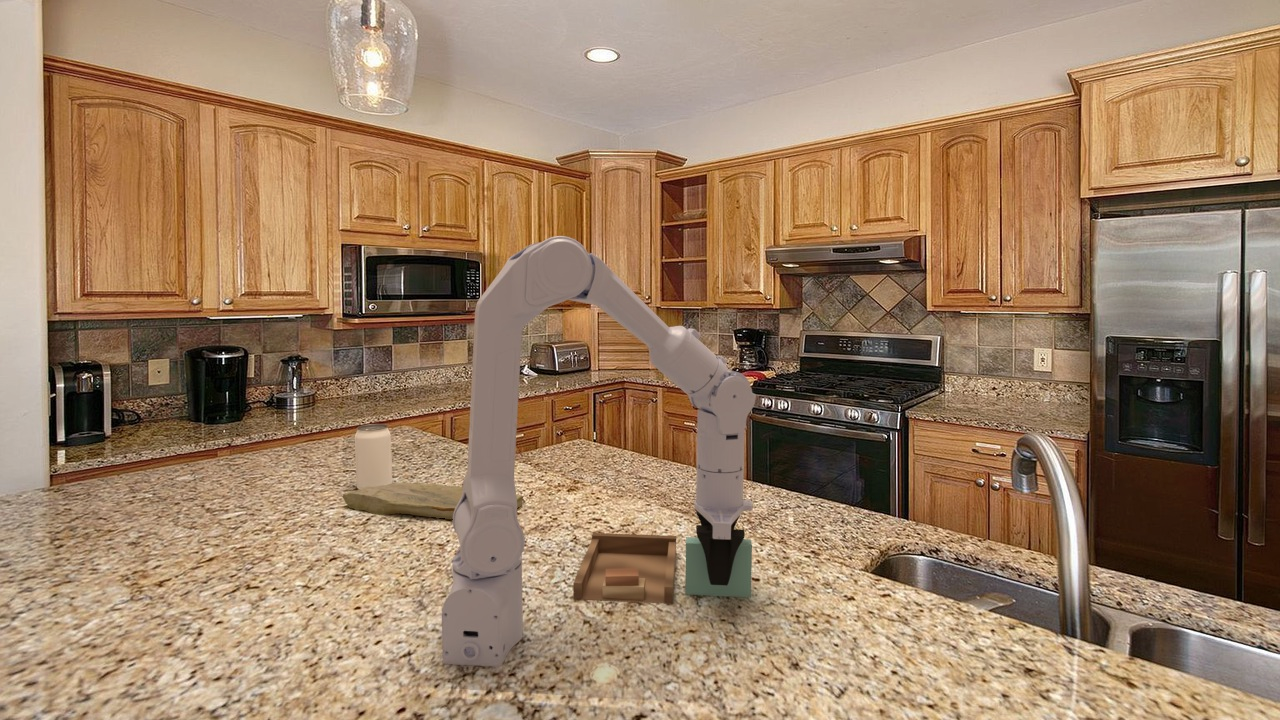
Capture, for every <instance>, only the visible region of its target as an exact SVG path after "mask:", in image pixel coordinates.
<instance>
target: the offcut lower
mask: <svg viewBox="0 0 1280 720" xmlns="http://www.w3.org/2000/svg"><path fill="white" fill-rule="evenodd" d="M644 596H645V578H639V585H637V586H606V577H605V580H604V583H603V598H609V599H631V600H644Z"/></svg>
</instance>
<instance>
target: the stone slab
mask: <svg viewBox="0 0 1280 720" xmlns="http://www.w3.org/2000/svg"><path fill="white" fill-rule="evenodd" d="M462 493H463V486H457V485H446V484H445V485H444V484H439V483H419V482H417V483H416V482H413V483H412V482H394V483H393V482H392V484H388V485H382V486H376V487H365V488H362V489H357V490H352V491H348V492H345V493H343V495H342V499H343V500H344V502H345V504H346V505H347V506H348V507H349V508H350V509H354V510H355V511H358V510H359V511H361V510H362V511H366V512H369V514H372V515H382V514H387V515H396V514H395V513H398V514H397V515H399V513H401V514H400V515H402V514H403V515H404V514H409V515H412V516H420V517H429V518H431V517H436V518H435V519H439V518H445V519H444V520H452V519H453V513H454V510H455V508H456V506H457V504H458V503H459V501H460V499H461V496H462ZM516 497H517V508H518V507H519V508H521V507H522V506H523V505H524V503H523V500H524V496H523V495H522V494H517V493H516ZM522 504H523V505H522ZM521 505H522V506H521ZM519 508H518V509H519ZM382 516H383V515H382Z"/></svg>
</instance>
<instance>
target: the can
mask: <svg viewBox="0 0 1280 720" xmlns="http://www.w3.org/2000/svg"><path fill="white" fill-rule="evenodd" d="M354 454H355V455H354V456H355V477H356V478H355V481H356V482H355V483H356V488H357V490H359V489H362V488H365V487H376V486H382V485H388V484H392V483H393V458H392V435H391V431H390V430H389V425H387V424H384V423H371V424H363V425H360V426H359V425H358V426H357V427H356V433H355V435H354Z"/></svg>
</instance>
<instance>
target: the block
mask: <svg viewBox="0 0 1280 720" xmlns="http://www.w3.org/2000/svg"><path fill="white" fill-rule="evenodd" d="M752 562H753V544H752V539H749V538H747V539H746V538H744V539H743V541H742V543H741V544H740V546H739V548H738V550H737V552H736V555H735V558H734V562H733V566H732V571H731V576H730V580H729V583H728V585H727V586H726V585H711V584H710V581H709V576H708V570H707V563H706V557H705V553H704V550H703V547H702V545H701V543H700V541H699V539H698V536H696V537H695V536H692V537H691V536H685V581H684V583H685V588H684V589H685V590H684V595H687V596H688V595H689V596H712V597H713V596H714V597H715V596H716V597H731V598H732V597H735V598H752V569H753V568H752V567H753V565H752Z"/></svg>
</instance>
